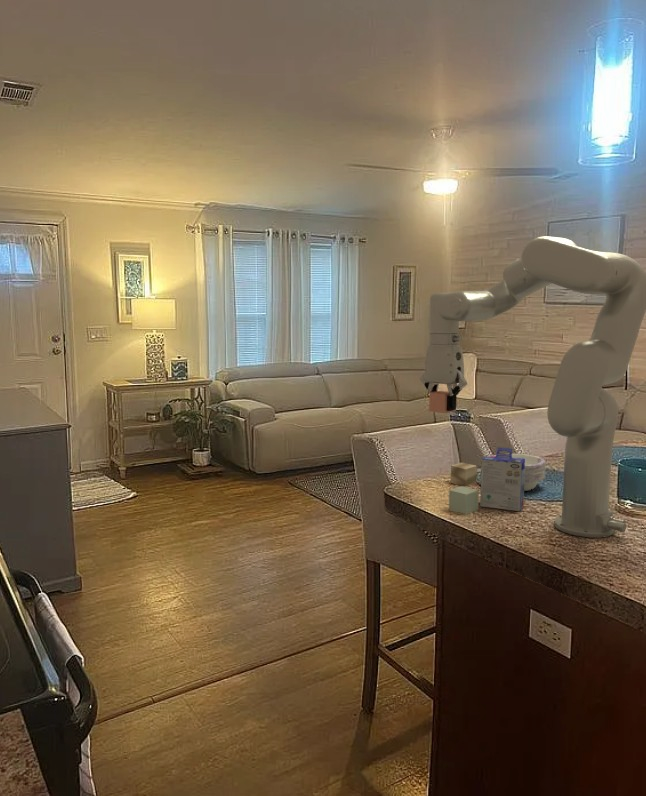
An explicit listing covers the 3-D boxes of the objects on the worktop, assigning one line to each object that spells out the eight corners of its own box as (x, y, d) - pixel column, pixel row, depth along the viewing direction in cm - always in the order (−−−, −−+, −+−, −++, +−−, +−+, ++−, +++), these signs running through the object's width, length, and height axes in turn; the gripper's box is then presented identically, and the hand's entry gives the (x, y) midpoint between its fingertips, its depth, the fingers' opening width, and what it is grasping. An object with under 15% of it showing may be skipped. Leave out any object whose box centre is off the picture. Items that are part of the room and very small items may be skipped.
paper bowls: (492, 476, 183) (493, 450, 182) (547, 482, 176) (548, 455, 175) (481, 491, 169) (482, 462, 168) (540, 498, 163) (541, 468, 162)
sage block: (478, 510, 154) (478, 490, 154) (465, 514, 151) (466, 494, 150) (461, 505, 158) (461, 486, 157) (448, 509, 155) (449, 490, 154)
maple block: (476, 483, 177) (476, 465, 176) (465, 486, 174) (465, 469, 173) (461, 479, 181) (461, 462, 180) (450, 482, 178) (451, 465, 177)
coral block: (456, 411, 167) (456, 392, 167) (444, 413, 164) (444, 394, 163) (441, 408, 171) (441, 390, 170) (429, 411, 168) (429, 392, 167)
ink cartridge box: (524, 505, 157) (526, 448, 155) (521, 512, 152) (523, 453, 150) (484, 500, 161) (485, 445, 159) (479, 507, 156) (481, 449, 154)
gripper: (479, 340, 161) (478, 411, 164) (427, 338, 174) (426, 403, 176) (461, 342, 156) (460, 414, 159) (409, 339, 169) (408, 407, 171)
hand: (442, 408), depth 167 cm, fingers closed on coral block, 4 cm apart
